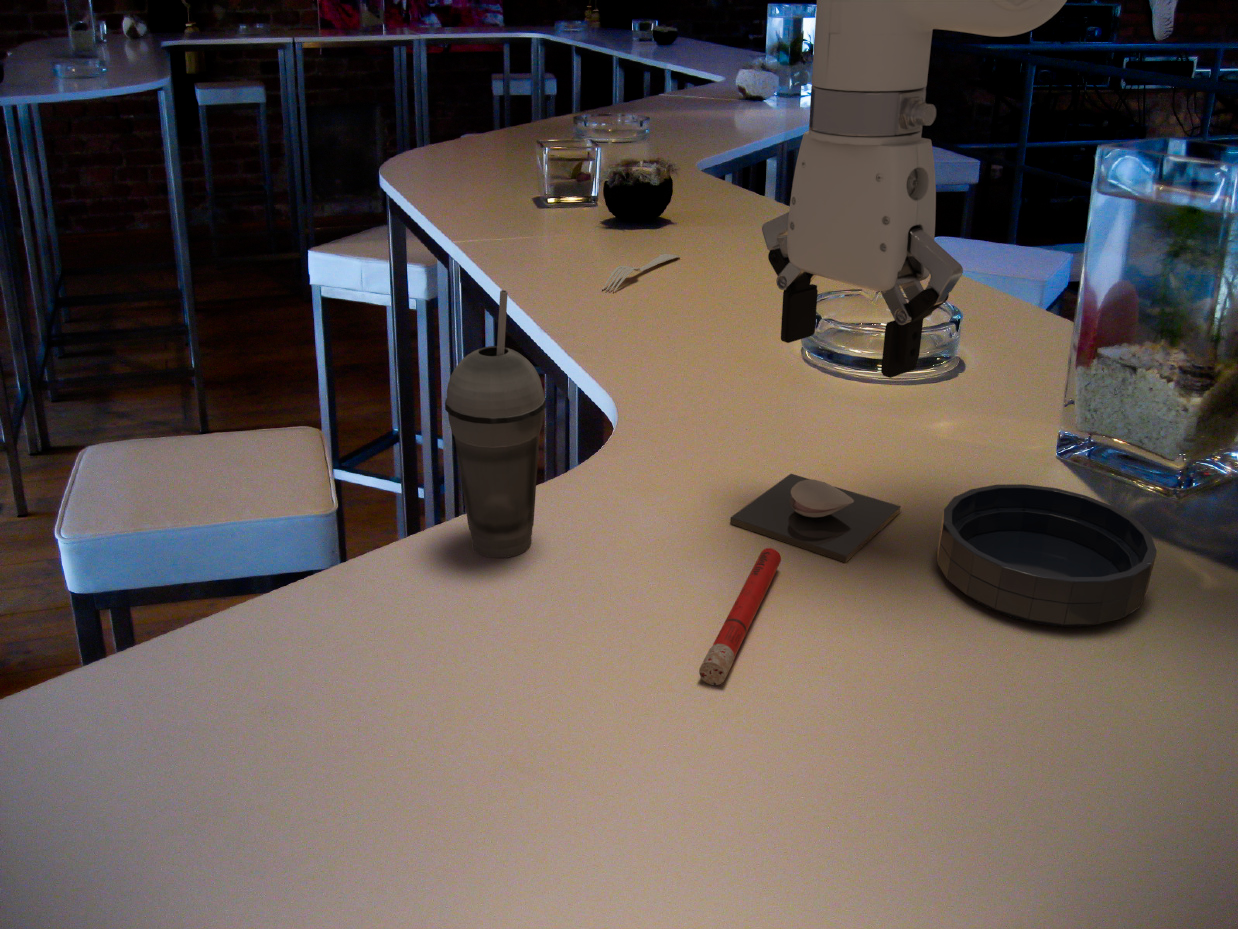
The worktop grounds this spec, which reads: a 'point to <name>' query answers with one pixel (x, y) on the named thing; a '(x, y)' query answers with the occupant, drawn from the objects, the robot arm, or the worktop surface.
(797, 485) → the clam shell
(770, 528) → the coaster
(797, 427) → the worktop surface
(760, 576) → the flare
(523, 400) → the beverage cup
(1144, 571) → the bowl
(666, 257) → the fork
